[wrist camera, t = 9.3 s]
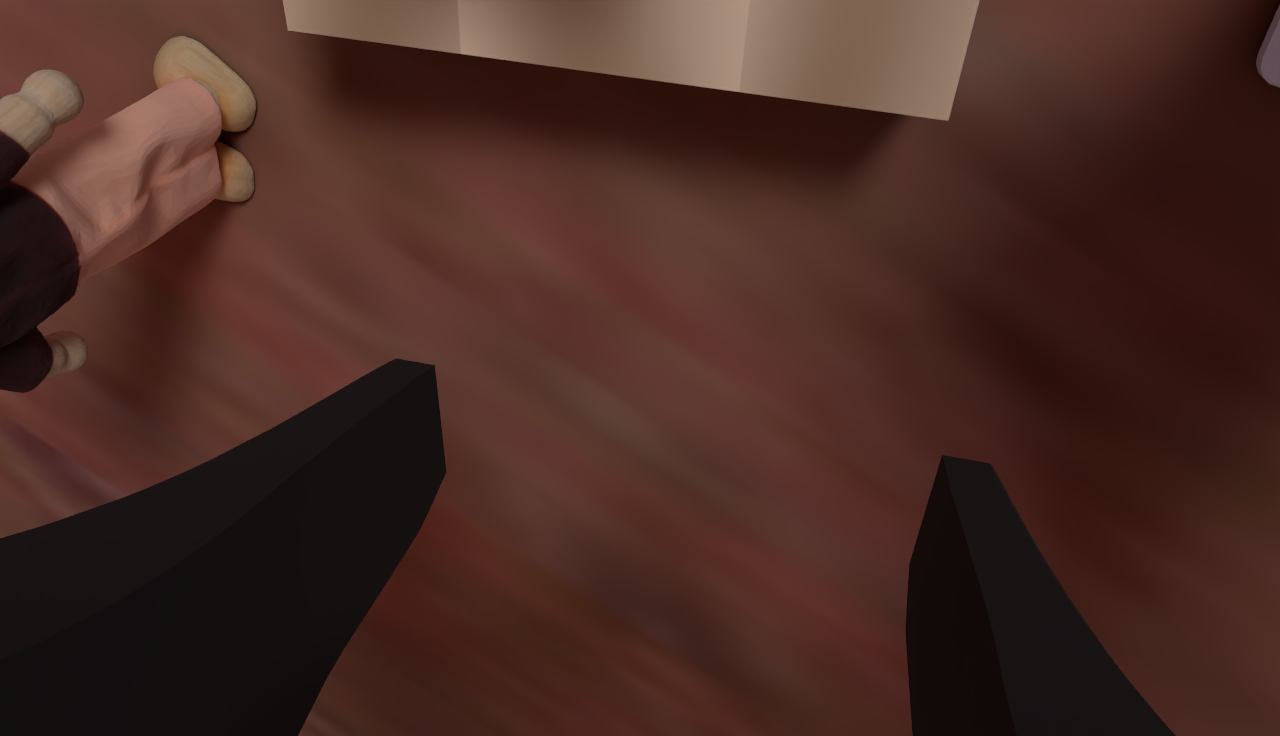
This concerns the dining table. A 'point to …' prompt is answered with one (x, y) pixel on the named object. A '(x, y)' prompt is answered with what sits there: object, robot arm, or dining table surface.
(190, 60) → the grandmother figurine
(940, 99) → the maple hole block
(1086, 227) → the dining table surface
